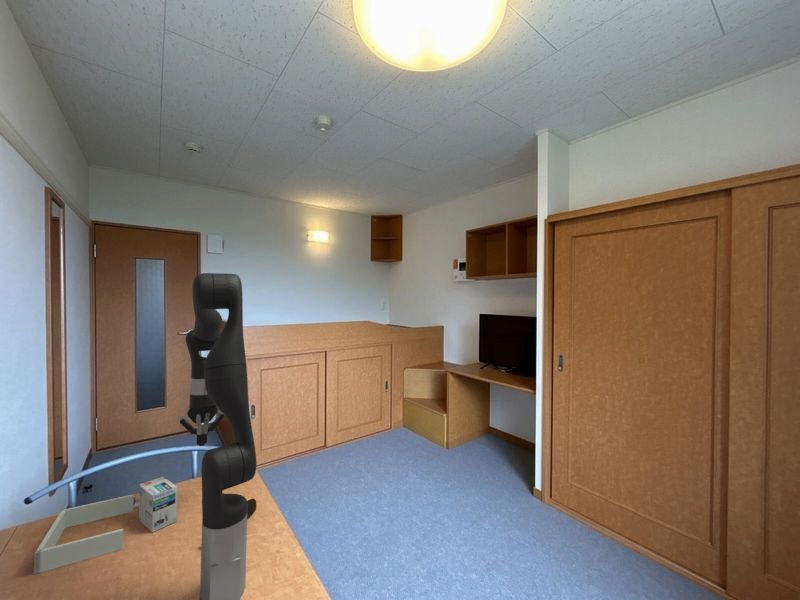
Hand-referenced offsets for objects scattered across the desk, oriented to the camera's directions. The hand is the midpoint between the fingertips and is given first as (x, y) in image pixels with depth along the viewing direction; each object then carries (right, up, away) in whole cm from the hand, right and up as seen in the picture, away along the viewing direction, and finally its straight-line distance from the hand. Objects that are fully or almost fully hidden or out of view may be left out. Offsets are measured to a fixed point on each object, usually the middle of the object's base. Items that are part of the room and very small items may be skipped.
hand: (201, 445), depth 108 cm
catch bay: (-23, -20, -14) cm, 33 cm away
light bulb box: (-10, -20, -6) cm, 24 cm away
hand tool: (+14, -21, -9) cm, 27 cm away
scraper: (-28, -20, -1) cm, 34 cm away
